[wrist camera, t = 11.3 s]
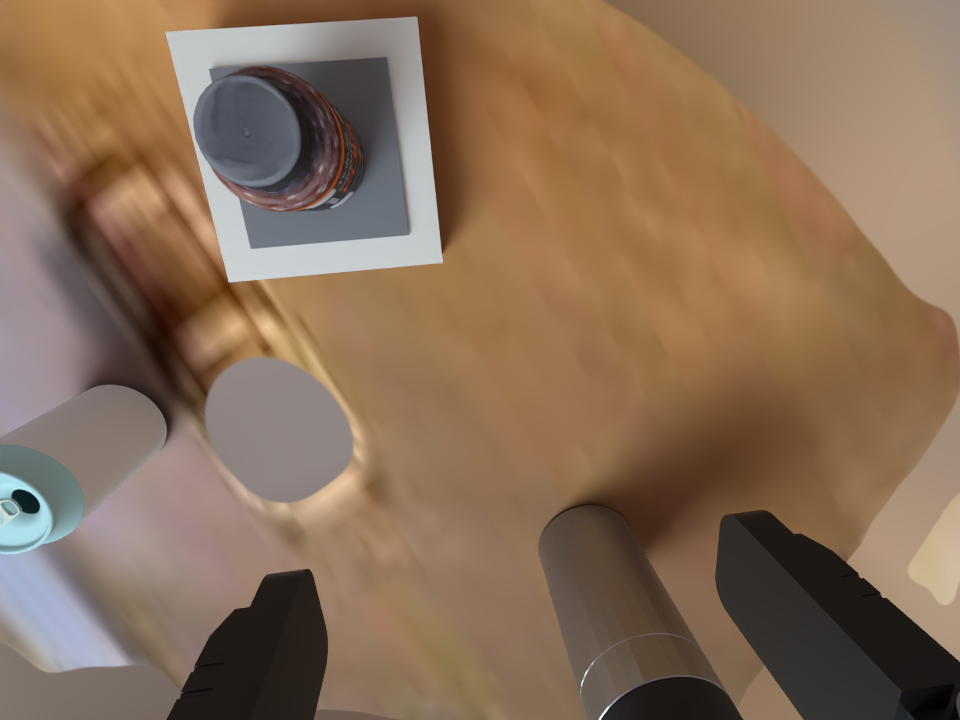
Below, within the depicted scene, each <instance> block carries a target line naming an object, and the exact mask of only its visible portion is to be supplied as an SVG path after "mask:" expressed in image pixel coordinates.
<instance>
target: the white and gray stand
mask: <svg viewBox="0 0 960 720" xmlns="http://www.w3.org/2000/svg"><path fill="white" fill-rule="evenodd" d="M166 36H167V40H168V44H169V48H170V52H171V56H172V59H173V63H174V67H175V71H176V75H177V79H178V83H179V87H180V91H181V95H182V99H183V103H184V107H185V111H186V115H187V119H188V123H189V127H190V130H191V134H192V138H193V142H194V146H195V150H196V154H197V158H198V162H199V166H200V170H201V174H202V178H203V182H204V186H205V190H206V194H207V198H208V202H209V205H210V209H211V213H212V217H213V221H214V225H215V229H216V233H217V237H218V241H219V245H220V249H221V253H222V257H223V261H224V265H225V269H226V273H227V276H228V280H229V282H238V281H249V280H260V279H271V278H282V277H293V276H304V275H315V274H326V273H337V272H347V271H358V270H369V269H380V268H391V267H402V266H413V265H424V264H435V263H443V260H442V251H441V241H440V231H439V222H438V212H437V203H436V193H435V183H434V174H433V164H432V154H431V145H430V135H429V126H428V116H427V106H426V97H425V87H424V77H423V68H422V58H421V49H420V39H419V29H418V20H417V17H402V18H386V19H370V20H353V21H337V22H321V23H305V24H288V25H272V26H256V27H239V28H223V29H207V30H191V31H174V32H166ZM251 66H270V67H275V68H279V69H282V70H285V71H288V72H290V73H292V74H294V75H296V76H298V77H300V78H301V79H303V80H304V81H306V82H307V83H309V84H310V85H311V86H312V87H313V88H315V89H316V90H317V91H318V92H319V93H321V94H322V95H323V96H324V97H325V98H326V99H327V100H328V101H329V103H331V104H332V105H333V106H334V107H335V108H336V107H337V108H338V111H339V112H340V113H341V114H342V115H343V116H344V117H345V118H346V119H347V120H348V121H349V122H350V124H351V125H352V126H353V128H354V130H355V131H356V133H357V135H358V137H359V139H360V141H361V144H362V147H363V151H364V159H365V166H364V173H363V178H362V181H361V183H360V185H359V188H358V189H357V191H356V192H355V193H354V195H353V196H352V197H351V198H350V199H349V200H347V201H346V202H345V203H343V204H341V205H340V206H337V207H335V208H332V209H328V210H323V211H298V212H275V211H269V210H265V209H261V208H258V207H255V206H253V205H251V204H248V203H247V202H245V201H243V200H241V199H240V198H238V197H237V196H236V195H234V194H233V193H232V192H230V191H229V190H228V189H227V188H226V187H225V186H224V185H223V184H222V182H221V181H220V180H219V179H218V178H217V176H216V175H215V174H214V172H213V170H212V169H211V167H210V165H209V163H208V162H207V160H206V159H205V158H204V156H203V154H202V152H201V150H200V148H199V146H198V143H197V141H196V138H195V132H194V127H193V117H194V110H195V107H196V105H197V102H198V99H199V97H200V95H201V94H202V93H203V92H204V90H205V89H206V87H208V86H209V85H210V84H211V83H213V82H214V81H215V80H217V79H219V78H222V77H224V76H226V75H228V74H230V73H232V72H233V71H236V70H238V69H240V68H246V67H251Z"/></svg>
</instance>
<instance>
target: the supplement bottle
mask: <svg viewBox="0 0 960 720" xmlns="http://www.w3.org/2000/svg"><path fill="white" fill-rule="evenodd" d="M193 127H194V132H195V138H196V141H197V143H198V146H199V148H200V150H201V152H202V154H203V156H204V158H205V159H206V160H207V162H208V163H209V165H210V167H211V169H212V170H213V172H214V174H215V175H216V176H217V178H218V179H219V180H220V181H221V182H222V184H223V185H224V186H225V187H226V188H227V189H228V190H229V191H230V192H232V193H233V194H234V195H236V196H237V197H238V198H240V199H241V200H243V201H245V202H247V203H248V204H251V205H253V206H255V207H258V208H261V209H265V210H269V211H275V212H298V211H323V210H328V209H332V208H335V207H337V206H340V205H341V204H343V203H345V202H346V201H347V200H349V199H350V198H351V197H352V196H353V195H354V193H355V192H356V191H357V189H358V188H359V185H360V183H361V181H362V178H363V173H364V166H365V159H364V151H363V147H362V144H361V141H360V139H359V137H358V135H357V133H356V131H355V130H354V128H353V126H352V125H351V124H350V122H349V121H348V120H347V119H346V118H345V117H344V116H343V115H342V114H341V113H340V112H339V111H338V108H337V107H336V108H335V107H334V106H333V105H332V104H331V103H329V101H328V100H327V99H326V98H325V97H324V96H323V95H322V94H321V93H319V92H318V91H317V90H316V89H315V88H313V87H312V86H311V85H310V84H309V83H307V82H306V81H304V80H303V79H301V78H300V77H298V76H296V75H294V74H292V73H290V72H288V71H285V70H282V69H279V68H275V67H270V66H251V67H246V68H240V69H238V70H236V71H233V72H232V73H230V74H228V75H226V76H224V77H222V78H219V79H217V80H215V81H214V82H213V83H211V84H210V85H209V86H208V87H206V89H205V90H204V92H203V93H202V94H201V95H200V97H199V99H198V102H197V105H196V107H195V110H194V117H193Z"/></svg>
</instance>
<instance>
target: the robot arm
mask: <svg viewBox="0 0 960 720" xmlns="http://www.w3.org/2000/svg"><path fill="white" fill-rule="evenodd" d="M539 556H540V559H541V563H542V566H543V570H544V573H545V577H546V580H547V584H548V588H549V591H550V595H551V598H552V602H553V605H554V609H555V612H556V615H557V619H558V622H559V626H560V629H561V633H562V636H563V639H564V643H565V646H566V650H567V653H568V657H569V660H570V664H571V667H572V670H573V674H574V677H575V681H576V684H577V688H578V691H579V695H580V698H581V701H582V704H583V708H584V711H585V714H586V718H587V720H743V719H742V717H741V716H740V714H739V712H738V710H737V709H736V707H735V705H734V703H733V702H732V700H731V699H730V697H729V695H728V693H727V692H726V690H725V688H724V686H723V685H722V683H721V681H720V680H719V678H718V676H717V675H716V673H715V671H714V670H713V668H712V666H711V664H710V663H709V661H708V659H707V658H706V656H705V655H704V653H703V651H702V650H701V648H700V646H699V645H698V643H697V641H696V640H695V638H694V636H693V634H692V633H691V631H690V629H689V628H688V626H687V624H686V623H685V621H684V619H683V617H682V616H681V614H680V612H679V611H678V609H677V607H676V606H675V604H674V602H673V601H672V599H671V597H670V595H669V594H668V592H667V590H666V589H665V587H664V585H663V584H662V582H661V580H660V579H659V577H658V575H657V573H656V572H655V570H654V568H653V567H652V565H651V563H650V562H649V560H648V558H647V557H646V555H645V553H644V551H643V550H642V548H641V546H640V545H639V543H638V541H637V539H636V538H635V536H634V534H633V533H632V531H631V529H630V528H629V526H628V524H627V523H626V521H625V520H624V519H623V518H622V516H621V515H620V514H618V513H617V512H615V511H614V510H612V509H609V508H607V507H604V506H597V505H584V506H580V507H575V508H572V509H570V510H568V511H565V512H564V513H562V514H560V515H559V516H557V517H556V518H555V519H554V520H553V521H552V522H551V523H549V525H548V526H547V528H546V529H545V530H544V532H543V534H542V537H541V539H540V544H539ZM715 579H716V587H717V591H718V594H719V597H720V600H721V602H722V604H723V606H724V608H725V610H726V611H727V613H728V614H729V616H730V617H731V619H732V620H733V621H734V623H735V624H736V626H737V627H738V628H739V630H740V631H741V633H742V634H743V635H744V637H745V638H746V640H747V641H748V642H749V644H750V645H751V647H752V648H753V649H754V651H755V652H756V654H757V655H758V656H759V658H760V659H761V661H762V662H763V663H764V665H765V666H766V668H767V669H768V670H769V672H770V673H771V675H772V676H773V677H774V679H775V680H776V681H777V683H778V684H779V686H780V687H781V689H782V690H783V691H784V692H785V694H786V695H787V697H788V698H789V700H790V701H791V703H792V704H793V705H794V707H795V708H796V709H797V711H798V712H799V714H800V715H801V716H802V718H803V719H804V720H960V662H959V661H958V660H957V659H955V657H953V656H952V655H951V654H950V653H949V652H948V651H947V650H945V649H944V648H943V647H942V646H941V645H940V644H938V643H937V642H936V641H935V640H934V639H933V638H932V637H930V636H929V635H928V634H927V633H926V632H925V631H923V630H922V629H921V628H920V627H919V626H918V625H917V624H916V623H914V622H913V621H912V620H911V619H910V618H909V617H907V616H906V615H905V614H904V613H903V612H902V611H901V610H900V609H898V608H897V607H896V606H895V605H894V604H893V603H891V602H890V601H889V600H888V599H887V598H882V597H881V594H880V592H879V591H878V590H877V589H876V588H874V587H873V586H872V585H871V584H870V583H869V582H868V581H866V580H865V579H864V578H862V579H861V578H860V577H859V575H858V573H857V572H856V571H855V570H854V569H853V568H852V567H850V566H849V565H848V564H847V563H846V562H845V561H844V560H842V559H841V558H840V557H839V556H838V555H837V554H836V553H834V552H833V551H832V550H830V549H828V548H826V547H824V546H823V545H821V544H819V543H817V542H815V541H814V540H812V539H810V538H808V537H806V536H804V535H803V534H793V533H792V532H791V531H790V530H789V529H788V528H787V527H786V526H785V525H783V524H782V523H781V522H780V521H779V520H778V519H777V518H776V517H775V516H774V515H772V514H771V513H770V512H768V511H765V510H758V511H750V512H743V513H735V514H728V515H725V516H723V518H722V520H721V523H720V532H719V543H718V553H717V564H716V575H715ZM327 655H328V638H327V630H326V625H325V621H324V617H323V613H322V609H321V605H320V601H319V597H318V593H317V589H316V585H315V581H314V577H313V574H312V572H311V571H310V570H309V569H303V570H296V571H288V572H281V573H273V574H268V575H266V576H265V577H264V578H263V580H262V582H261V584H260V586H259V588H258V590H257V593H256V595H255V597H254V599H253V601H252V604H251V606H250V607H247V608H240V609H235V610H234V611H233V612H232V613H231V614H230V615H229V616H228V617H227V618H226V619H225V620H224V621H223V623H222V624H221V625H220V626H219V627H218V628H217V629H216V630H215V631H214V632H213V633H212V634H211V635H210V637H209V639H208V641H207V643H206V645H205V647H204V648H203V650H202V652H201V654H200V656H199V658H198V660H197V662H196V664H195V666H194V672H191V673H190V675H189V677H188V679H187V681H186V683H185V685H184V687H183V689H182V691H181V697H180V699H177V700H176V702H175V704H174V706H173V708H172V710H171V712H170V714H169V716H168V718H167V720H314V716H315V712H316V708H317V703H318V699H319V695H320V690H321V686H322V682H323V678H324V673H325V669H326V664H327Z"/></svg>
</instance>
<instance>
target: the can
mask: <svg viewBox="0 0 960 720" xmlns="http://www.w3.org/2000/svg"><path fill="white" fill-rule="evenodd" d="M166 436H167V428H166V423H165V419H164V417H163V415H162V413H161V411H160V410H159V409H158V407H157V406H156V405H155V404H154V403H153V402H152V401H151V400H150V399H149V398H148V397H146V396H145V395H143V394H142V393H140V392H138V391H136V390H134V389H131V388H128V387H125V386H120V385H101V386H97V387H93V388H91V389H89V390H87V391H85V392H83V393H81V394H80V395H78V396H76V397H74V398H72V399H70V400H69V401H67V402H65V403H63V404H61V405H59V406H58V407H56V408H54V409H52V410H50V411H49V412H47V413H45V414H43V415H41V416H39V417H38V418H36V419H34V420H32V421H30V422H28V423H27V424H25V425H23V426H21V427H19V428H17V429H16V430H14V431H12V432H10V433H8V434H6V435H5V436H3V437H1V438H0V553H4V554H15V553H22V552H26V551H29V550H32V549H34V548H36V547H38V546H39V545H41V544H45V543H50V542H53V541H56V540H58V539H61V538H63V537H64V536H66V535H68V534H69V533H71V532H72V531H73V530H74V529H75V528H76V527H78V526H79V525H80V524H81V523H82V522H83V521H84V520H85V519H86V518H87V517H88V516H90V515H91V514H92V513H93V512H94V511H95V510H96V509H97V508H98V507H99V506H101V505H102V504H103V503H104V502H105V501H106V500H107V499H108V498H109V497H110V496H112V495H113V494H114V493H115V492H116V491H117V490H118V489H119V488H120V487H121V486H122V485H124V484H125V483H126V482H127V481H128V480H129V479H130V478H131V477H132V476H133V475H135V474H136V473H137V472H138V471H139V470H140V469H141V468H142V467H143V466H144V465H145V464H147V463H148V462H149V461H150V460H151V459H152V458H153V457H154V456H155V455H156V454H158V452H159V451H160V450H161V449H162V447H163V445H164V443H165V440H166Z"/></svg>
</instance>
